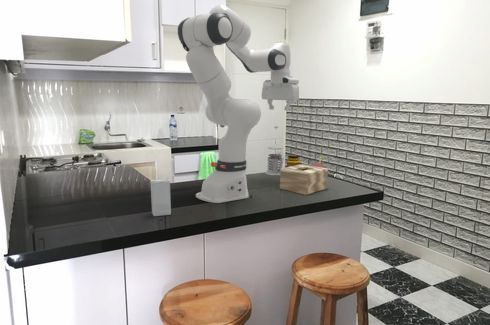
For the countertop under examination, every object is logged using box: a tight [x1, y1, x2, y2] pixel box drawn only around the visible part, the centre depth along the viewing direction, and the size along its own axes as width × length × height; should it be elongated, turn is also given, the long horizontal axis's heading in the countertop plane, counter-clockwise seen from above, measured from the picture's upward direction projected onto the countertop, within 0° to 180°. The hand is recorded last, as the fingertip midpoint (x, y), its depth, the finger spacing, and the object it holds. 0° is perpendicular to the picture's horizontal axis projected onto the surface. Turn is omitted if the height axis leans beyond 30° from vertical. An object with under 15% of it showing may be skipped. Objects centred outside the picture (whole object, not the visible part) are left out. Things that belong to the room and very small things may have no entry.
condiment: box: [286, 154, 300, 167], centre depth 182 cm, size 7×8×12 cm
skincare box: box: [149, 178, 172, 217], centre depth 125 cm, size 6×4×12 cm
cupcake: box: [310, 153, 327, 168], centre depth 187 cm, size 9×8×12 cm
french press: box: [265, 125, 284, 176], centre depth 191 cm, size 10×12×25 cm
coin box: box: [279, 163, 329, 196], centre depth 164 cm, size 16×14×9 cm
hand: (279, 110), depth 173 cm, fingers open, 8 cm apart
